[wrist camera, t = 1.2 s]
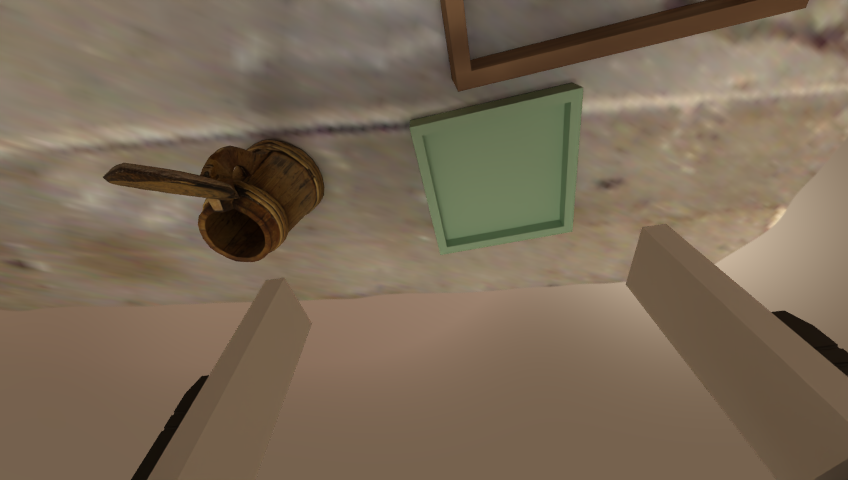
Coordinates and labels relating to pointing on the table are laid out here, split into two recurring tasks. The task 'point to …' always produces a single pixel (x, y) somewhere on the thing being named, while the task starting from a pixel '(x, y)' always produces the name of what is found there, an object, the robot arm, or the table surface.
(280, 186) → the wooden mug
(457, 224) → the green tray
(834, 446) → the robot arm
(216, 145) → the table surface
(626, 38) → the walnut crate
